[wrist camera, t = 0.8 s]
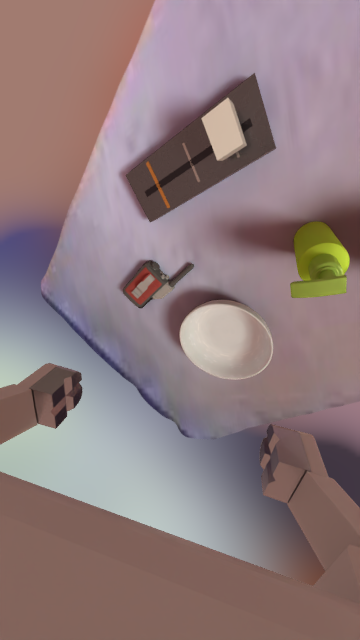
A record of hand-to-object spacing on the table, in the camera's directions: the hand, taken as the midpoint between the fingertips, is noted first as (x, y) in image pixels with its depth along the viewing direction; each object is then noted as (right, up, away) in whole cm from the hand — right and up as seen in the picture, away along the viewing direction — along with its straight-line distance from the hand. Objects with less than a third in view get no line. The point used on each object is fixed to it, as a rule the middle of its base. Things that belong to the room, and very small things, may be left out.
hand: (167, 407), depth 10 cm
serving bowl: (+12, +2, +47) cm, 49 cm away
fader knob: (+8, +31, +24) cm, 40 cm away
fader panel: (+3, +31, +31) cm, 44 cm away
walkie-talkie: (-5, +14, +47) cm, 49 cm away
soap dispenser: (+23, +18, +31) cm, 43 cm away
